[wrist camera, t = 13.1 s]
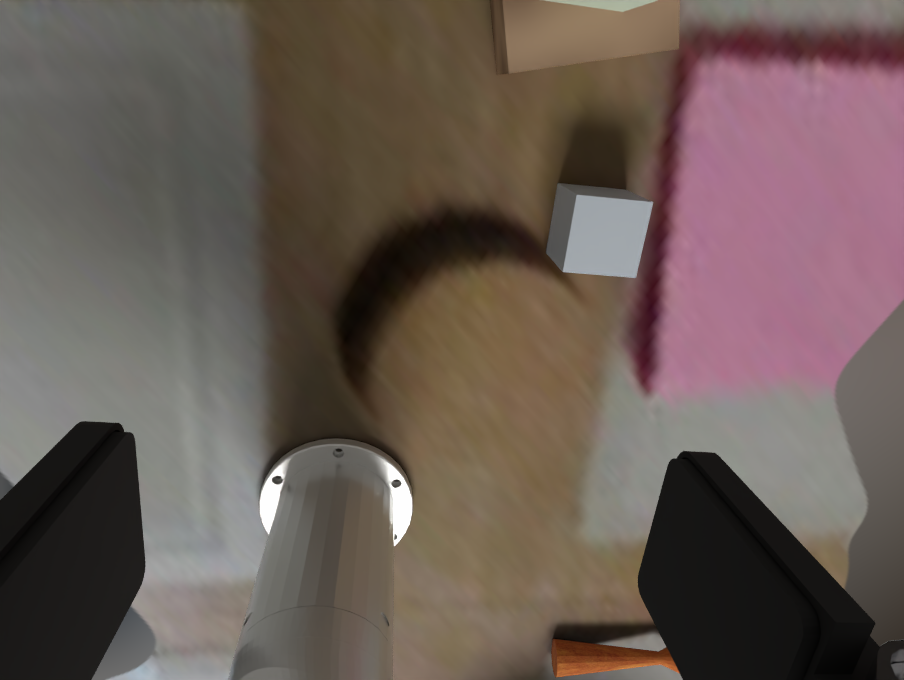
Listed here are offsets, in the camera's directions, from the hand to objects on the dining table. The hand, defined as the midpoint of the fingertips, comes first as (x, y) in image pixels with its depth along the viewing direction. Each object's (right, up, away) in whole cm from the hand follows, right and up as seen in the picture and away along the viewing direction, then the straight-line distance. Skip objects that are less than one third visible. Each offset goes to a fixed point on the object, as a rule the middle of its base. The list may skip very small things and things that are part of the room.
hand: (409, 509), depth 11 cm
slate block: (+10, +11, +33) cm, 36 cm away
